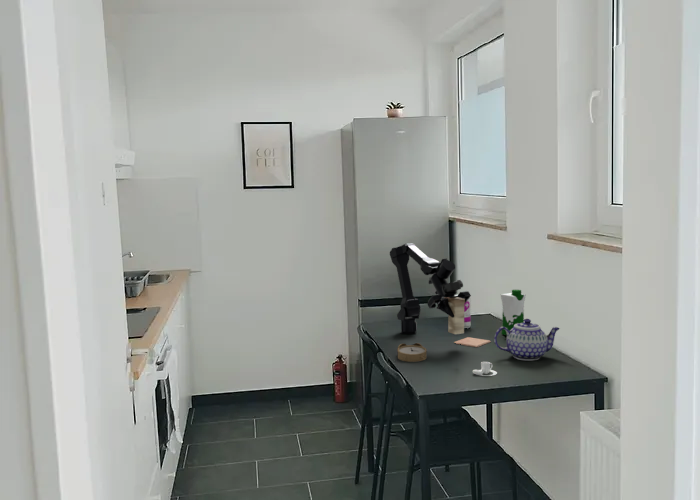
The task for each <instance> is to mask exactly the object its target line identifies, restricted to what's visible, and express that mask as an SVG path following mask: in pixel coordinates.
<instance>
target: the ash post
mask: <svg viewBox="0 0 700 500" xmlns="http://www.w3.org/2000/svg"><path fill="white" fill-rule="evenodd" d="M448 303H449V306H450V308H451V310H452V312H453V314H454V317H453V318H452V317H451V316H449V315H448V314H447V315H448V319H447V320H448V322H447V323H448V327H447V328H448V329H447V331H448V333H449V334H450V333H451V334H453V335H460V334H461V335H462V334H465V329H464V303H465V299H462V298H458V297H456V298H448Z"/></svg>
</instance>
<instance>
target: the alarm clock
mask: <svg viewBox="0 0 700 500" xmlns="http://www.w3.org/2000/svg"><path fill="white" fill-rule="evenodd" d="M397 359H398V360H400V361H403V362H409V363H410V362H411V363H413V362H414V363H415V362H423V361H425V360H426V359H427V348H426V347H424V346H423V345H422V344H421V343H419V342H417V343H415V342H414V344H406V343H400V344H399V345H398V346H397Z"/></svg>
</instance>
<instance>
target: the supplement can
mask: <svg viewBox="0 0 700 500" xmlns="http://www.w3.org/2000/svg"><path fill="white" fill-rule="evenodd" d="M458 294H459V293H456V294H454V295H455V296H458ZM471 301H472V300H471V297H470V298H469V299H468V300H467V302H466V303H465V304H464V328H467V329H469V328H470V327H471V325H472V324H471V320H472V319H471V318H472V316H471V312H472V311H471V310H472V309H471V306H472V305H471Z"/></svg>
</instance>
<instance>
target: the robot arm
mask: <svg viewBox="0 0 700 500" xmlns="http://www.w3.org/2000/svg"><path fill="white" fill-rule="evenodd" d="M389 256H390V259H391V263H392V264H393V266H395V267H396V271H397V276H398V282H399V285H400V290H401V291H400V292H401V297H402V299H401V302H400V310H398V312H397V314H396V316H397V320H399V321H400V334H403V335H406V334H407V335H408V334H411V335H415V334H416V332H417V331H418V330H417V329H418V327H417V326H418V325H417V324H418V322H417V321H416V319H417V320H418V319H420V314H421V305H420V300H419V299H418V298H416V297H415V296H414V292H413V288H412V283H411V282H412V281H411V277H410V272H409V267H408V266H409V265H408V264H409V262H410V257H411V259H412V260H414V261H415V262H416V263H417V264H418V265H419V266H420V270H421V272H422V273H423V274H424V275H425V276H431V277H429V280H428V284H429V285H432V286H433V287H434V290H435V292H434V293H435V294H433V295H431V297H430V298H429V299H428V301H427V307H428V309H435V308H436V309H437V310H439V311H441V312H443V313H445V314H447V315H449V316H451V317H452V318H453V317H454V314H453V312H452V310H451V308H450V306H449V302H448V298H456V297H458V298H462V299H465V303H466V302H467V300H468V299H469V298H470V299H471V296H472V295H471V293H470V292H469V291H467V290H465V291H459V290H462V288H463V287H464V284H463V281H462V280H461V279H456V280H455V281H451V282H448V281H447V280H448V279H449V278H450V277H451V275H452V273H454V271H455V270H456V265H455V263H453V261H451V260H449V259H448V258H442V259H441V261H439V260H437V259H435V258H432V257H429V256H427V255H426V254H425V253H424V252H423V251H422V250H420V249H419V247H417V246H416V244H415V243H413V242H411V243H410V242H409V243H408V242H407V243H404V244H401V245H399V246H397V247H396V246H395V247H393V248H391V249H390V251H389ZM458 291H459V293H458ZM457 294H458V296H455V295H457ZM465 303H464V304H465ZM436 304H437V305H436Z"/></svg>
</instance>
